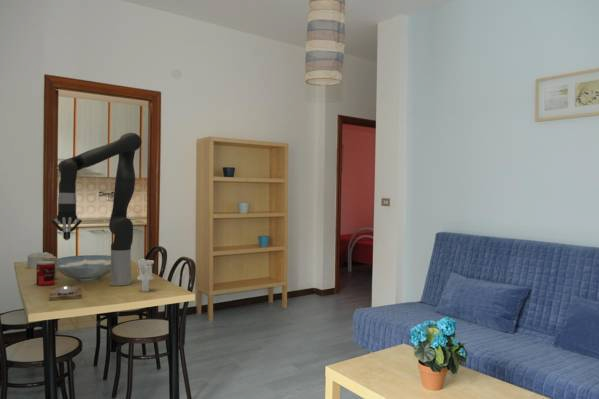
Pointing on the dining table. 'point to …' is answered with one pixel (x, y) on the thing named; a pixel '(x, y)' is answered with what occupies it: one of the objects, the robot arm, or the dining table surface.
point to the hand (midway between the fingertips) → (66, 240)
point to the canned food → (45, 273)
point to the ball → (65, 290)
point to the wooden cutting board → (74, 295)
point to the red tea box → (51, 258)
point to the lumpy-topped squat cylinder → (36, 259)
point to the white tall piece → (145, 273)
